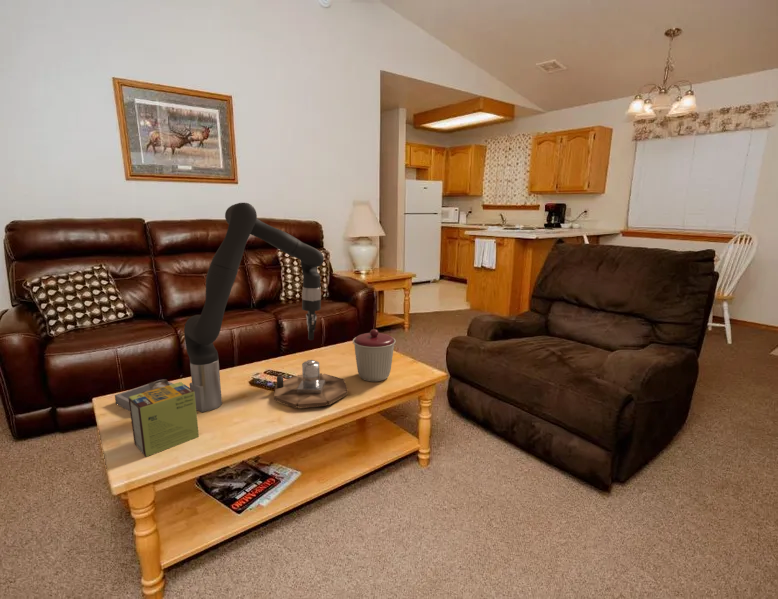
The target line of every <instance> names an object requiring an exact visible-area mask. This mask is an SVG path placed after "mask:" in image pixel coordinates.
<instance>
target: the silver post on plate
mask: <svg viewBox="0 0 778 599" xmlns="http://www.w3.org/2000/svg"><path fill="white" fill-rule="evenodd" d="M301 370H302V372H301V373H302V375H303V380H302V382H301V383H300V385H299V386H298V388H297V393H316V394H321V392H322V390H323V388H324V386H325V380H320V371H321V370H320V362H319V361H317V360H315V359H307V360H306V361H304V362H302V364H301Z"/></svg>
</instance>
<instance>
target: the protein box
mask: <svg viewBox="0 0 778 599" xmlns="http://www.w3.org/2000/svg"><path fill="white" fill-rule="evenodd" d="M128 399H129V407H130V411H129V412H130V414H129V415H130V419H131V427H132V436H133V442H134V446H136V447H137V449H138V450H139V451H140V452H141V454H143V456H144V457H145V456H146V458H147V457H150V456H152V454H153V455H155V454H157V452H158V453H160V451H161V452H162V451H165V449H166V450H168V449H171V448H174V447H176V446H179V445H181V444H184V443H186V442H188V441H191V440H195V439H196V438H199V437H200V435H199V426H198V425H199V424H198V415H197V414H198V413H197V410H196V402H195V391H194V390H192V389H191V388H190V386H188V385H186V384H184V382H182V381H179V382H176V383H173V384H172V385H169V386H165V387H161V388H158V389H154V390H151V391H148V392H144V393H140V394H137V395H134V396H130V397H128ZM173 446H174V447H173ZM154 453H155V454H154ZM149 455H150V456H149Z"/></svg>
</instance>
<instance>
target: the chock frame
mask: <svg viewBox="0 0 778 599" xmlns="http://www.w3.org/2000/svg"><path fill="white" fill-rule="evenodd" d="M161 380H164V379H159V380H156V381H161ZM156 381H154V382H156ZM168 383H169V385H172V384H174V383H173V382H171V381H168ZM148 389H150V387H149V383H147V384H144V385H141V386H138V387H135V388H132V389H130V390H129V389H128V390H126V391H123V392H121V393H117V394H114V399H115V401H114V402H115V405H117V404H118V405H117V406H119V407H121V408H122V409H125V410H127V411H129V412H130V407H129V399H128V397H130V396H134V395H137V394H140V393H142V392H145V390H148Z"/></svg>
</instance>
